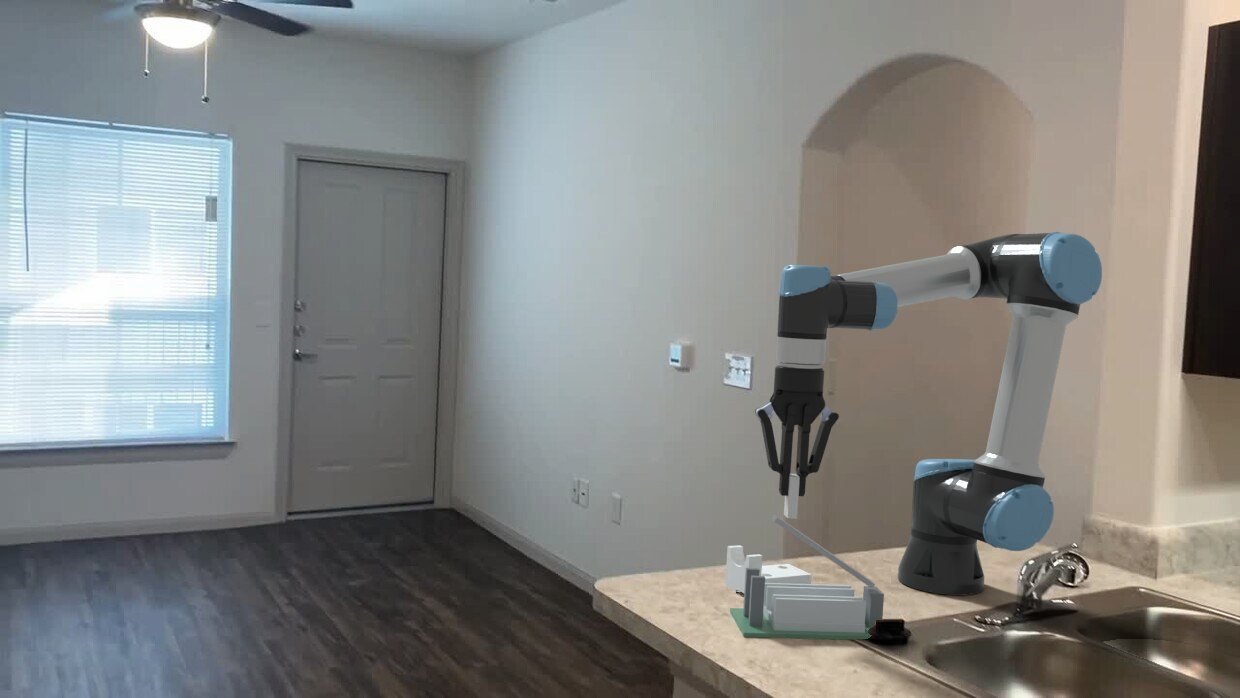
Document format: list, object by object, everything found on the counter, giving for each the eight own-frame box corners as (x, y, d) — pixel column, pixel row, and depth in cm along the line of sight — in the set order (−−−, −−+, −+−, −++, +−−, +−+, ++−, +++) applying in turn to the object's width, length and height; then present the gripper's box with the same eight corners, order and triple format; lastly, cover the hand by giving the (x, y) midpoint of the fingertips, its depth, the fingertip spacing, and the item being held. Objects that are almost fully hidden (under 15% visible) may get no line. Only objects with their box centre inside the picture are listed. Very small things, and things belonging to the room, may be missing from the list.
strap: (868, 584, 169) (870, 580, 169) (872, 588, 167) (875, 584, 167) (771, 518, 167) (774, 514, 167) (774, 521, 165) (777, 517, 165)
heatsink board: (869, 615, 175) (872, 566, 174) (893, 640, 163) (896, 587, 162) (729, 611, 173) (732, 561, 172) (743, 636, 161) (746, 583, 161)
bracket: (746, 600, 180) (749, 556, 180) (725, 588, 187) (727, 546, 186) (810, 594, 186) (813, 551, 186) (787, 583, 192) (789, 541, 192)
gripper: (834, 365, 169) (825, 512, 171) (753, 361, 168) (744, 509, 170) (848, 369, 162) (838, 523, 163) (763, 365, 161) (753, 520, 162)
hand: (790, 516), depth 166 cm, fingers closed
